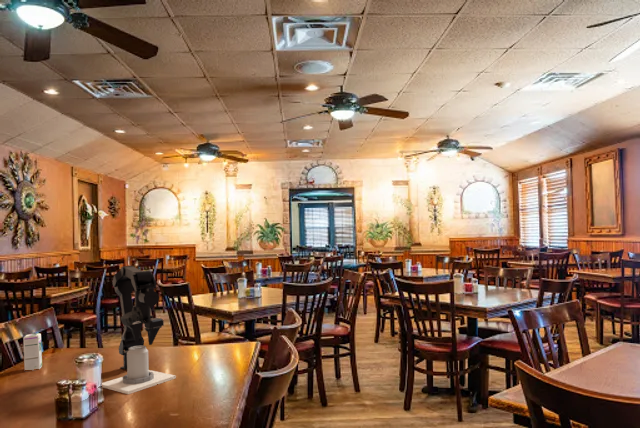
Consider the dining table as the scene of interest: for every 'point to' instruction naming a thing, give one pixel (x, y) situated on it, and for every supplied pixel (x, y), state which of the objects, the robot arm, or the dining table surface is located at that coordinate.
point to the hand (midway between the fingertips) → (143, 343)
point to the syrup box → (32, 351)
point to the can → (137, 362)
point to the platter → (137, 382)
